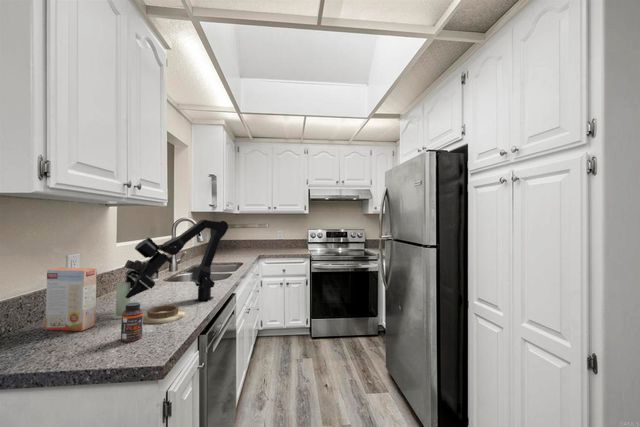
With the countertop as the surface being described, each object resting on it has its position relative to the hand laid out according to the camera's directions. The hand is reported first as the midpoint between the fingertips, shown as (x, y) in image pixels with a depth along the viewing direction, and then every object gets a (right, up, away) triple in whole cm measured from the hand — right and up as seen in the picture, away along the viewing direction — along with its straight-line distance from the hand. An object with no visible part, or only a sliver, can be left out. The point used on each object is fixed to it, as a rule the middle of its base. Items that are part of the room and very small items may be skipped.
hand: (122, 295), depth 117 cm
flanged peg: (0, -8, 0) cm, 8 cm away
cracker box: (-10, -8, -13) cm, 18 cm away
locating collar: (+16, -8, 0) cm, 18 cm away
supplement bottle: (+17, -8, -21) cm, 29 cm away
